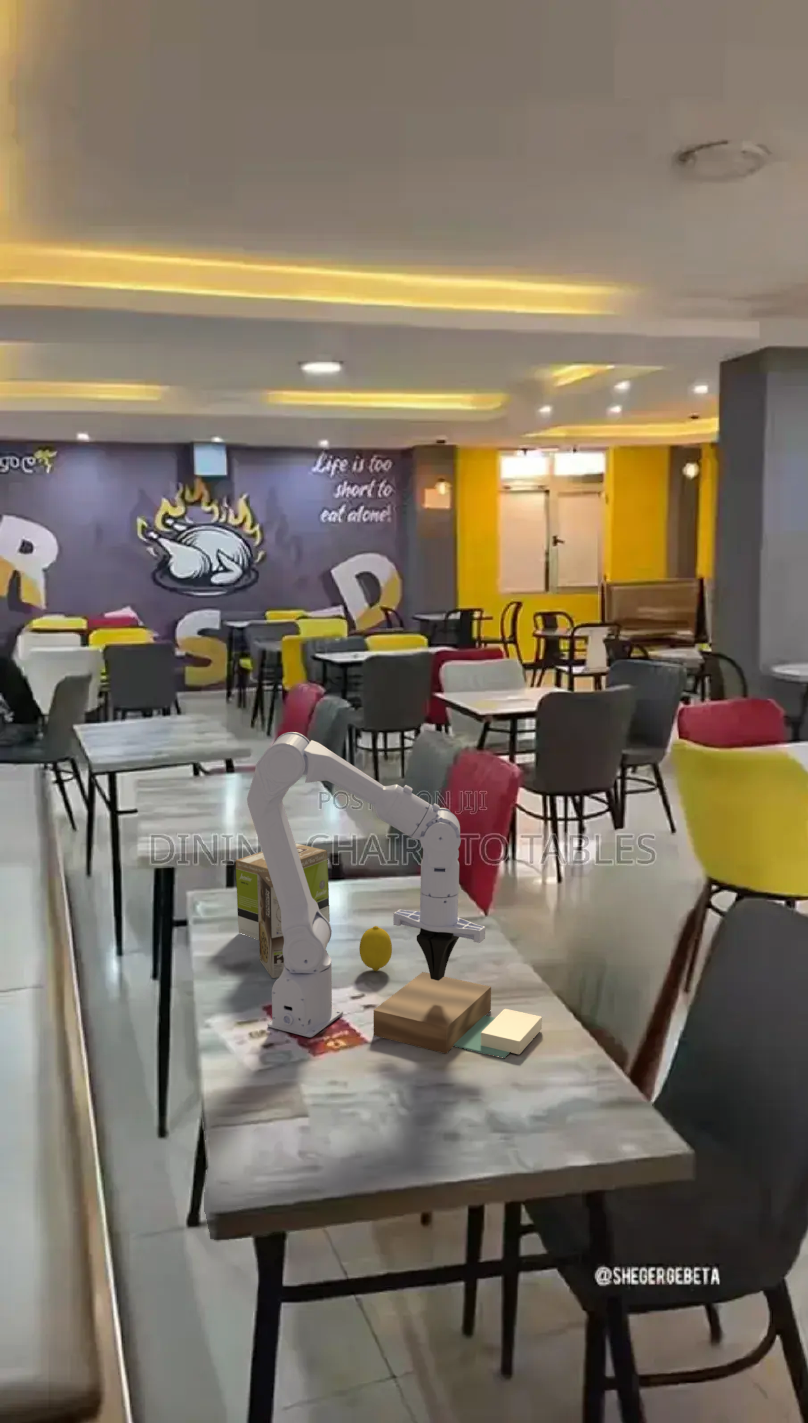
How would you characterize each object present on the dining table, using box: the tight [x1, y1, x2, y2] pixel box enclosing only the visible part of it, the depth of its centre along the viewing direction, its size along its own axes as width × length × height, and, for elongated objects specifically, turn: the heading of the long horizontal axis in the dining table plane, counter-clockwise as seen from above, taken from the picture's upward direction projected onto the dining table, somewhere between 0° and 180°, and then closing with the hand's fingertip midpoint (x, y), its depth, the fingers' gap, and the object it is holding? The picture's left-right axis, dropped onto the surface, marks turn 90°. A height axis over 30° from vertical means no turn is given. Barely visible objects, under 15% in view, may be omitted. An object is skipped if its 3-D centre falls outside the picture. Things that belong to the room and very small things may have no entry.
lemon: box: [358, 925, 393, 972], centre depth 183 cm, size 6×6×8 cm
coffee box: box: [257, 872, 284, 979], centre depth 184 cm, size 9×6×16 cm
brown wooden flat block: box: [373, 971, 492, 1054], centre depth 164 cm, size 16×12×4 cm
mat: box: [454, 1015, 511, 1059], centre depth 160 cm, size 11×8×1 cm
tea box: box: [235, 842, 331, 941], centre depth 202 cm, size 15×10×15 cm, turn 141°
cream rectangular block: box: [481, 1008, 543, 1055], centre depth 159 cm, size 9×6×2 cm, turn 152°
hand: (437, 977), depth 164 cm, fingers closed
